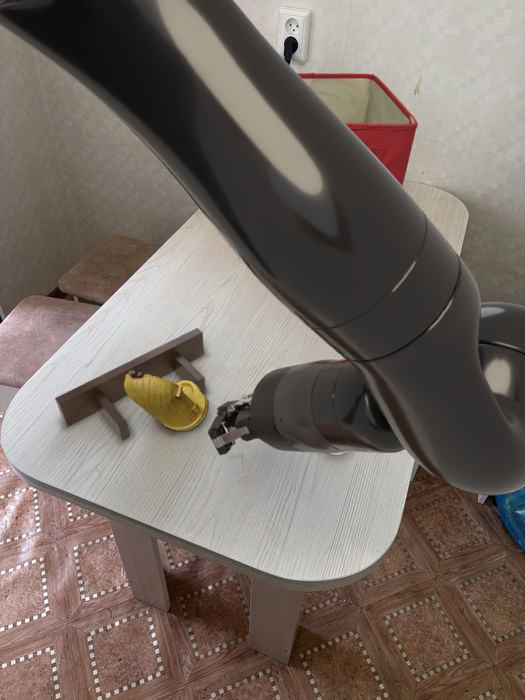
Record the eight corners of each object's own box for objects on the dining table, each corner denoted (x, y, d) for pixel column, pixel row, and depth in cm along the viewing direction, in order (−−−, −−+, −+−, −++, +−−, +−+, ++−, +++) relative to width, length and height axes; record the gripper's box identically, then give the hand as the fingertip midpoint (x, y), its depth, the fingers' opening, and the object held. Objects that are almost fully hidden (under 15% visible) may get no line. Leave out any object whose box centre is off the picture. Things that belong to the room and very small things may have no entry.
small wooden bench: (90, 459, 69) (83, 437, 65) (63, 420, 73) (54, 398, 70) (230, 378, 80) (230, 356, 77) (198, 349, 85) (197, 327, 81)
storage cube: (391, 267, 105) (428, 124, 85) (260, 273, 102) (267, 126, 82) (350, 195, 128) (372, 69, 108) (243, 198, 125) (245, 68, 105)
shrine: (167, 465, 68) (155, 392, 58) (124, 436, 72) (106, 361, 61) (220, 412, 75) (218, 338, 65) (179, 388, 78) (171, 313, 68)
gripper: (346, 333, 45) (254, 357, 60) (232, 407, 39) (160, 413, 53) (382, 406, 46) (282, 412, 61) (276, 491, 39) (193, 474, 54)
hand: (225, 413), depth 57 cm, fingers closed
